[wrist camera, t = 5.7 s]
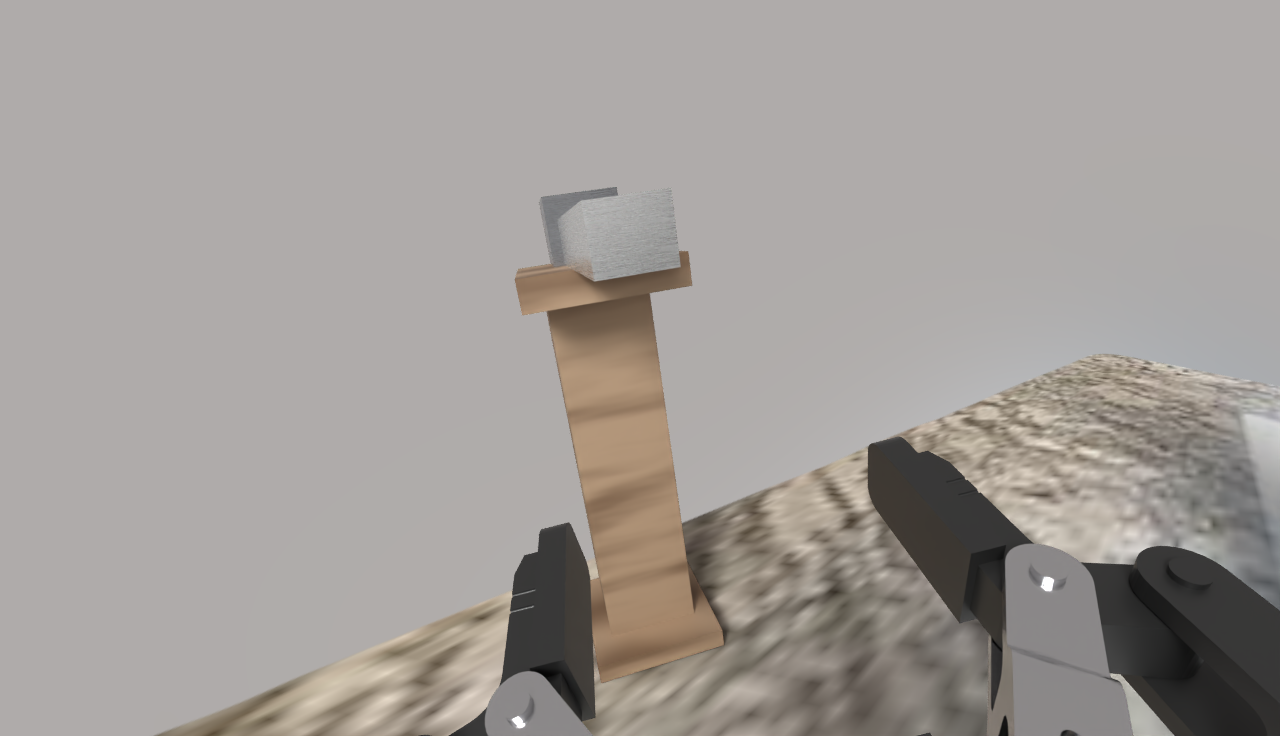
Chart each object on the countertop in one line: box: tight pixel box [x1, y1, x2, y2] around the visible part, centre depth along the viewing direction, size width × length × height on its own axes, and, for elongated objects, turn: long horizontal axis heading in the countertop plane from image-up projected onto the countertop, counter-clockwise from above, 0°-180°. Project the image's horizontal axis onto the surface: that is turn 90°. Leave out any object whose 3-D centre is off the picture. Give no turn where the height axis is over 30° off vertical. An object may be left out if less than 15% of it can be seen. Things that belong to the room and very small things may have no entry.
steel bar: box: [539, 187, 681, 282], centre depth 28 cm, size 20×5×4 cm, turn 14°
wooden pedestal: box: [515, 251, 724, 683], centre depth 38 cm, size 12×10×31 cm
